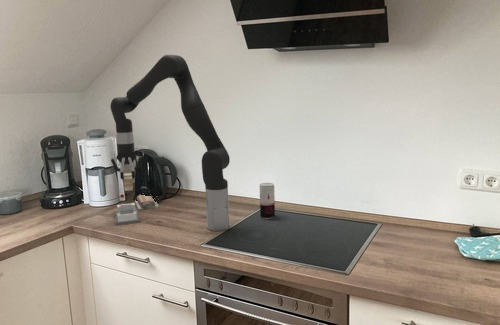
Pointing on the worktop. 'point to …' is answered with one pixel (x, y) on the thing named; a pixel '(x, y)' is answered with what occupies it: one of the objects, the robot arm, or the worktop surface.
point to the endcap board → (126, 214)
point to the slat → (128, 181)
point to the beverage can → (267, 200)
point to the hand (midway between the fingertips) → (128, 179)
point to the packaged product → (146, 202)
